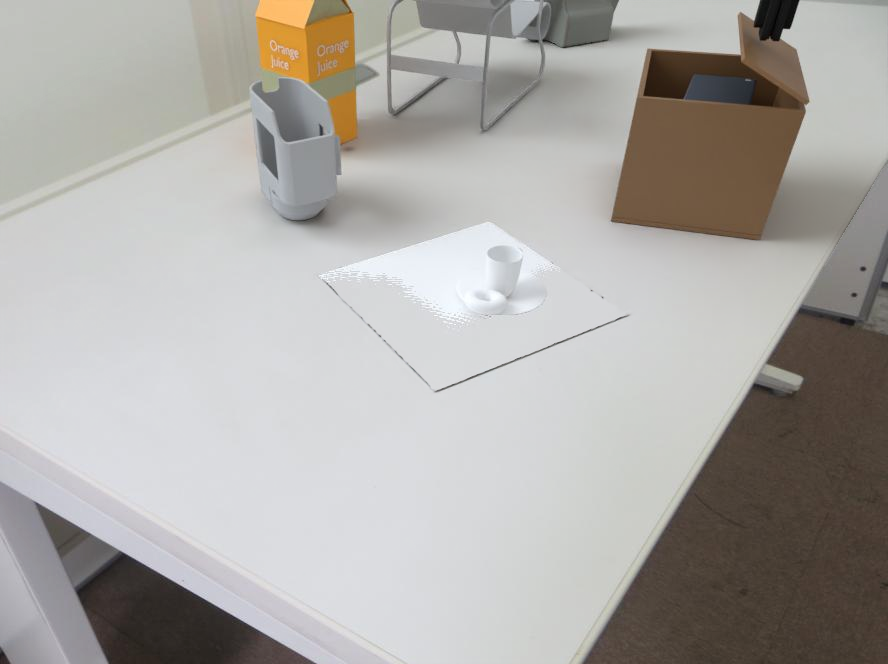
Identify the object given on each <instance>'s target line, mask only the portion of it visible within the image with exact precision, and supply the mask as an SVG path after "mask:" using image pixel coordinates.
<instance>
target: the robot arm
mask: <svg viewBox="0 0 888 664" xmlns="http://www.w3.org/2000/svg"><path fill="white" fill-rule="evenodd" d="M800 1H801V0H759V2H758V6H757V10H756V13H755V17H754V19H753V21H754V28H759V39H760V41H766V40H767V39H769V38H770V39H771V40H772V41H779V40H780V39H781V37H782V34H783V31H784V30H791V28H792V26H793V23H794V19H795V16H796V13H797V9H798V7H799V4H800Z"/></svg>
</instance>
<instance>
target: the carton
mask: <svg viewBox="0 0 888 664" xmlns="http://www.w3.org/2000/svg"><path fill="white" fill-rule="evenodd" d="M694 74H699V75H712V76H724V77H737V78H749V79H756V80H757V83H756V87H755V91H754V95H753V99H752V102H751V105H746V104H733V103H721V102H709V101H697V100H685V99H684V97H685V95H686V92H687V90H688V88H689V85H690V83H691V80H692V78H693V76H694ZM806 113H807V109H806V105H805V104H803V103H802V102H800V101H799V100H797V99H796V98H794V97H793V96H791V95H790V94H788V93H787V92H785V91H784V90H782V89H781V88H779V87H778V86H776V85H775V84H773V83H772V82H770V81H769V80H767V79H766V78H764V77H763V76H761V75H760V74H758V73H757V72H756V71H754V70H753V69H751V68H750V67H748V66H747V65H745V64H744V63H742V62H741V54H739V53H738V54H736V53H735V54H734V53H720V52H708V51H707V52H706V51H692V50H677V49H661V48H646V53H645V56H644V63H643V66H642V71H641V76H640V80H639V86H638V91H637V95H636V99H635V105H634V109H633V114H632V118H631V123H630V128H629V132H628V137H627V141H626V147H625V152H624V155H623V161H622V164H621V169H620V175H619V180H618V184H617V189H616V194H615V199H614V202H613V203H614V204H613V208H612V213H611V218H610V222H613V223H615V222H616V223H622V224H629V223H630V225H636V226H637V225H638V226H645V227H653V228H662V229H669V230H675V231H676V230H678V231H685V232H693V233H699V234H700V233H701V234H709V235H717V236H723V237H732V238H739V239H745V240H746V239H747V240H754V241H755V240H756V241H760V240H761V237H762V234H763V232H764V229H765V226H766V223H767V221H768V218H769V216H770V212H771V209H772V207H773V204H774V201H775V198H776V196H777V193H778V190H779V187H780V184H781V182H782V180H783V178H784V177H783V176H784V175H785V171H786V168H787V165H788V163H789V160H790V158H791V155H792V152H793V149H794V146H795V143H796V141H797V138H798V135H799V132H800V129H801V127H802V124H803V121H804V118H805V116H806Z"/></svg>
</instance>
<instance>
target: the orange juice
mask: <svg viewBox="0 0 888 664" xmlns="http://www.w3.org/2000/svg"><path fill="white" fill-rule="evenodd" d="M254 16H255V21H256V31H257V42H258V51H259V59H260V73H261V74H260V76H261V81H262V87H263V91H265V92H267V91H272V90H276V89H277V88H278V77H291V78H297V79H300V80H302V81H304V82H305V83H306V84H308V85H309V86H310V87H311V88H312V89H314V90H315V91H316V92H317V93H318V94H320V95H321V96H322V97H323V98H324V99H326V100H327V101H328V103H329V107H330V111H331V116H332V120H333V124H334V132H335V135H338V136H340V145H342V144H345V143H347V142H349V141H351V140H354V139H357V138H358V117H357V116H358V115H357V67H356V45H355V44H356V41H355V38H356V37H355V12H354V11H352V9H351V7H350V5H349V3H348V1H347V0H259V2H258V4H257V9H256V11H255V14H254Z"/></svg>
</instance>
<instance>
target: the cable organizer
mask: <svg viewBox="0 0 888 664" xmlns="http://www.w3.org/2000/svg"><path fill="white" fill-rule="evenodd" d="M248 92H249V100H250V107H251V117H252V126H253V134H254V144H255V151H256V159H257V168H258V176H259V186H260V192H261V194H262V195H263V196H264V197H265V199H267V201H268V203H269V204H270V205H271V206H272V207H273V209H274V210H275V211H276V212H277V213H278V214H279V215H280V216H281V217H283V218H285V219H287V220H290V221H306V220H309V219H312V218H314V217H317V215H318V214H320V213H321V211H322V210H323V209H324V208H325V207H326V205H327V204H328V200H329V199H333V198H335V197H336V196H337V194H338V178H337V176H342V150H341V144H340V136H338V135H335V132H334V124H333V120H332V116H331V111H330V107H329V103H328V101H327V100H326V99H324V98H323V97H322V96H321V95H320V94H318V93H317V92H316V91H315V90H314V89H312V88H311V87H310V86H309V85H308V84H306V83H305V82H304V81H302V80H300V79H297V78H291V77H278V88H277V89H276V90H272V91H267V92H265V91H264V90H263V84H262V79H259V80H257V81H255V82H253V83H252V84H250V86H249V88H248Z"/></svg>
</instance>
